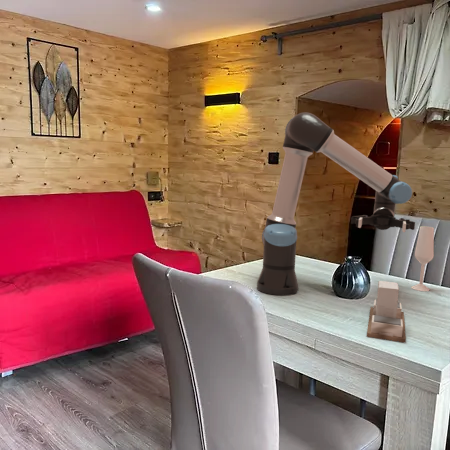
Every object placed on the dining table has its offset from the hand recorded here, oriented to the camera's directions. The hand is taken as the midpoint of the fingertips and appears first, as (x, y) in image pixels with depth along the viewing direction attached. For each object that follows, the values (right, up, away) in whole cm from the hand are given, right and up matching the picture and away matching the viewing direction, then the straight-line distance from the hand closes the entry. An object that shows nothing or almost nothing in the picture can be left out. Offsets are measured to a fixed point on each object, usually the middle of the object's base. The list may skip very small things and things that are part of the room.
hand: (381, 225), depth 144 cm
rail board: (-2, -29, -11) cm, 31 cm away
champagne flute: (+25, -24, +30) cm, 46 cm away
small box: (-3, -28, -10) cm, 30 cm away
